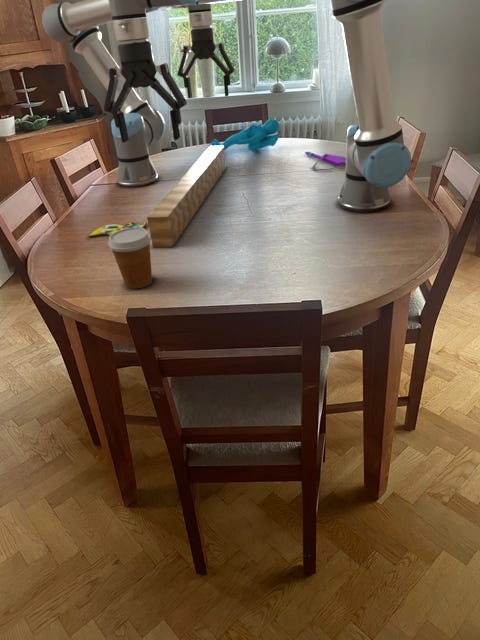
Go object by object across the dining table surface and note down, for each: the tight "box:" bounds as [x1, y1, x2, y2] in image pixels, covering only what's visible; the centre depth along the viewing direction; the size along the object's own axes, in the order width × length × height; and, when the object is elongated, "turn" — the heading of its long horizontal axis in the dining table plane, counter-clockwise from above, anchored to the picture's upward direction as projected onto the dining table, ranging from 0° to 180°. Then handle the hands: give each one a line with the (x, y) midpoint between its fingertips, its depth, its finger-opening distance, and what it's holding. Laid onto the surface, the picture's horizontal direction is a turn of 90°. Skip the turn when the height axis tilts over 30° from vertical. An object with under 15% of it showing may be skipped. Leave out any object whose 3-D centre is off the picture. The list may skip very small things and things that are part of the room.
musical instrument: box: [304, 151, 346, 171], centre depth 185 cm, size 24×2×20 cm
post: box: [146, 145, 227, 248], centre depth 158 cm, size 75×6×8 cm, turn 170°
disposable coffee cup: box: [107, 227, 153, 289], centre depth 110 cm, size 10×10×12 cm
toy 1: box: [88, 221, 148, 238], centre depth 142 cm, size 10×1×15 cm
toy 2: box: [210, 118, 280, 153], centre depth 207 cm, size 17×11×30 cm
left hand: (208, 96), depth 172 cm, fingers open, 13 cm apart
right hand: (151, 139), depth 119 cm, fingers open, 13 cm apart
